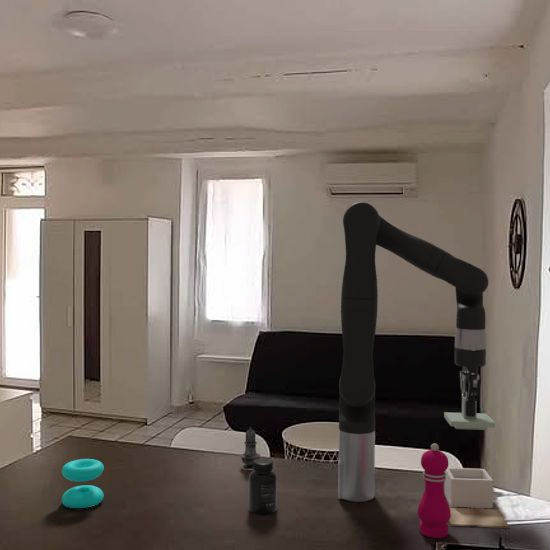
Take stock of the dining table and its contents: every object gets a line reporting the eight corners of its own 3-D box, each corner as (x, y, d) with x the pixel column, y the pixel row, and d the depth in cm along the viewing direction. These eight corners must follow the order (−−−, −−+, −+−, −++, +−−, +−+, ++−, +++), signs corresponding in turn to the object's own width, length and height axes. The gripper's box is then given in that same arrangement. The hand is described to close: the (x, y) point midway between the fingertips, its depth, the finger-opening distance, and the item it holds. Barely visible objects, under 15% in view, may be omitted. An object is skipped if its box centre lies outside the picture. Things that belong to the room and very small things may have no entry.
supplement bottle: (280, 507, 160) (280, 458, 160) (271, 517, 154) (271, 466, 154) (254, 503, 163) (254, 455, 162) (244, 513, 156) (244, 463, 156)
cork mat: (451, 525, 150) (451, 524, 150) (443, 509, 159) (443, 507, 159) (509, 528, 148) (509, 526, 148) (498, 511, 158) (498, 509, 158)
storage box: (451, 507, 161) (451, 479, 161) (444, 494, 170) (445, 467, 170) (492, 508, 160) (492, 480, 160) (483, 495, 169) (484, 468, 169)
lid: (450, 430, 160) (451, 401, 160) (444, 420, 170) (444, 393, 170) (495, 431, 159) (495, 402, 159) (485, 422, 169) (486, 394, 169)
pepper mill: (413, 526, 149) (414, 439, 149) (444, 525, 150) (444, 438, 149) (423, 539, 142) (424, 448, 141) (455, 538, 142) (456, 447, 142)
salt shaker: (257, 471, 187) (258, 430, 187) (238, 470, 188) (238, 428, 188) (262, 465, 193) (262, 425, 193) (243, 464, 194) (243, 424, 194)
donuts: (52, 466, 159) (81, 455, 169) (52, 506, 160) (81, 493, 169) (84, 472, 155) (112, 460, 164) (84, 513, 156) (112, 500, 165)
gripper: (450, 342, 171) (448, 408, 172) (460, 349, 157) (459, 421, 158) (479, 343, 171) (477, 408, 171) (492, 350, 157) (490, 422, 157)
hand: (468, 414), depth 164 cm, fingers closed on lid, 3 cm apart
